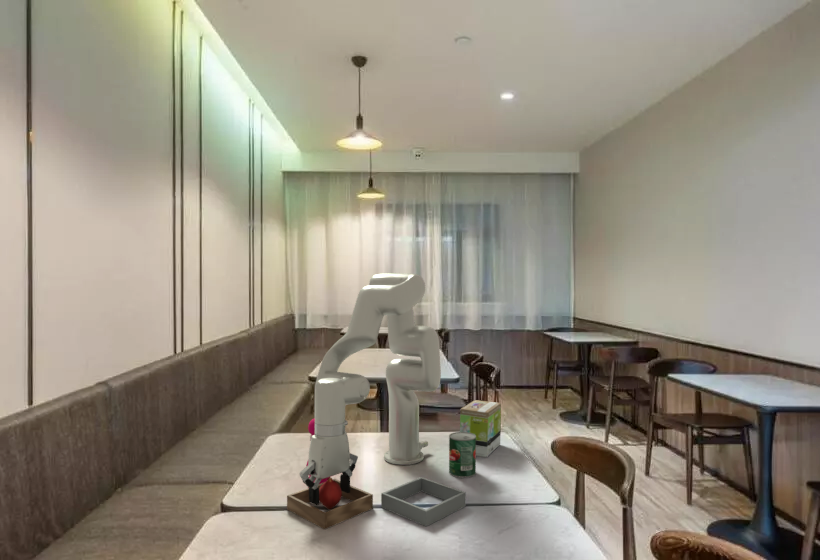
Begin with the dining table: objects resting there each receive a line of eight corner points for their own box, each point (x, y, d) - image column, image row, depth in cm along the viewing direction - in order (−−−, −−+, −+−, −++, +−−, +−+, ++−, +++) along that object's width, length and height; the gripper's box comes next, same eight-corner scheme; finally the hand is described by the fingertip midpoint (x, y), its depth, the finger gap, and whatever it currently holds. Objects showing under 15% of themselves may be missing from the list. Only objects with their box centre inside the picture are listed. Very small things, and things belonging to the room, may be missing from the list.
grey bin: (421, 489, 145) (421, 476, 145) (465, 506, 135) (465, 492, 135) (381, 507, 134) (381, 493, 134) (426, 526, 124) (426, 511, 124)
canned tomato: (443, 472, 158) (443, 435, 158) (461, 466, 163) (461, 430, 163) (462, 480, 152) (463, 441, 152) (481, 473, 157) (481, 436, 157)
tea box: (488, 458, 170) (488, 411, 170) (458, 453, 175) (458, 408, 174) (501, 444, 184) (501, 401, 184) (473, 440, 188) (473, 398, 188)
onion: (319, 504, 136) (319, 473, 136) (342, 503, 136) (342, 472, 136) (317, 514, 130) (317, 481, 130) (341, 513, 131) (341, 481, 130)
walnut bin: (334, 491, 144) (334, 478, 144) (372, 508, 134) (372, 494, 133) (287, 509, 133) (287, 495, 133) (324, 529, 123) (324, 514, 123)
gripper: (347, 419, 142) (347, 483, 142) (291, 433, 129) (291, 503, 129) (366, 424, 137) (366, 491, 137) (310, 439, 124) (310, 513, 124)
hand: (330, 497), depth 133 cm, fingers open, 9 cm apart
